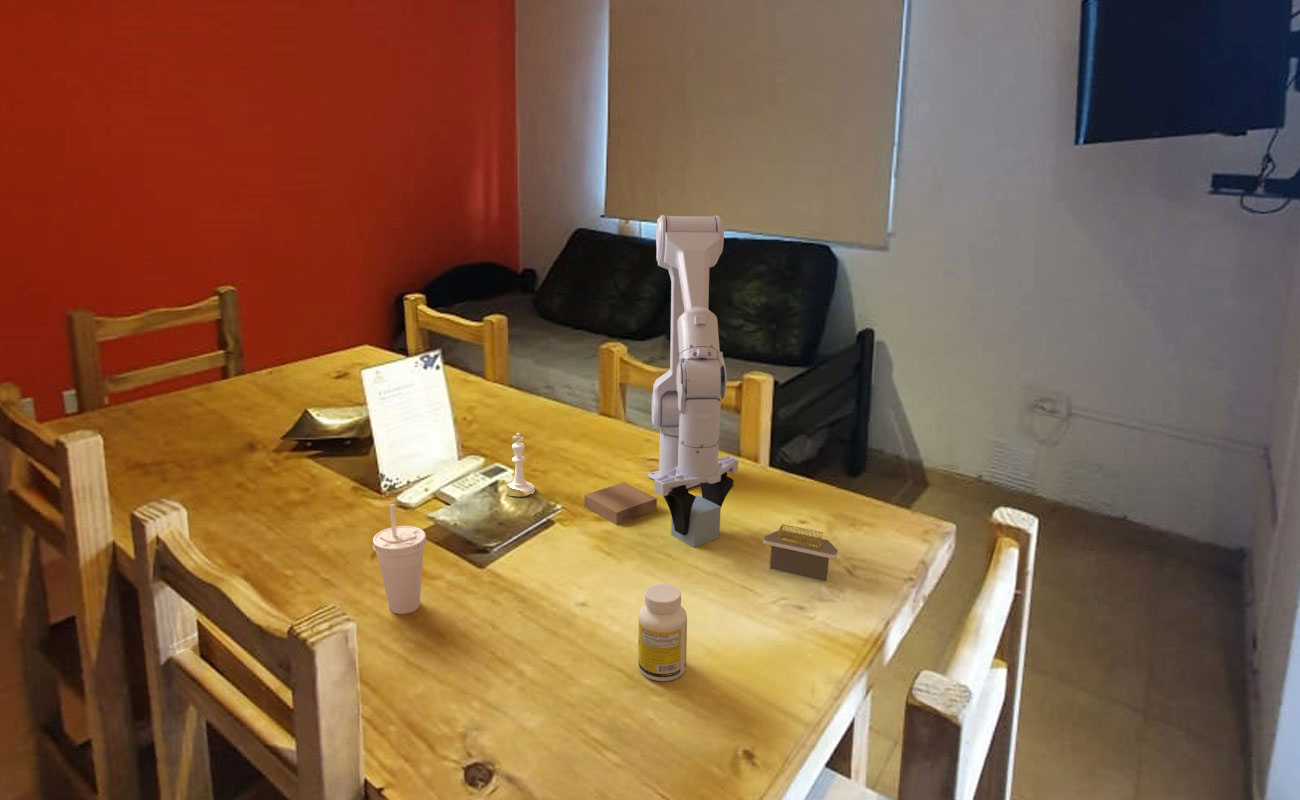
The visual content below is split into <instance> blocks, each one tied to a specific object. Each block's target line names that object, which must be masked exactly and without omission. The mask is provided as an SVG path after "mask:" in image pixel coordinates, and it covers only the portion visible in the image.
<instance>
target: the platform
mask: <svg viewBox="0 0 1300 800" xmlns="http://www.w3.org/2000/svg"><path fill="white" fill-rule="evenodd" d="M823 533H824V532H823V531H822V532H821V531H817V530H814V529H808V528H804V527H798V526H794V525H789V524H785V523H782V524H781V525H780V526H779V528H778V530H776V531H774V532H771V533H769V534H766V535H765V537H763V539H762V540H763V542H762V543H763V544H764V545H767V546H771V547H770V549H771V550H770V560H769V561H770V563H769V569H770V570H774V571H778V572H782V573H787V574H792V575H796V576H801V577H804V578H805V577H806V578H810V579H815V580H819V581H824V582H828V571H829V564H830V563H829V561H830V559H833V560H834V559H836V558H837V557H838V549H837V548H836V547H835V546H834V545H833V543H831V541H829V540H828V539H825V538H824V539H823V538H822V535H823Z"/></svg>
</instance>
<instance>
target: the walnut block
mask: <svg viewBox="0 0 1300 800" xmlns="http://www.w3.org/2000/svg"><path fill="white" fill-rule="evenodd" d="M583 500H584V508H585V509H587V510H589V511H591V512H593V513H595V514H597V516H600V517H602V518H603V519H605V520H607V521H609V522H610V523H611V524H614V525H615V526H618V525H621V524H623V523H627V522H629V521H631V520H634V519H638V518H640V517H643V516H645V515H649V514H651V513H654V512H657V510H658V508H657V505H658V498H657V497H655V496H653V495H651V494H649V493H647V492H645V491H643V490H641V489H639V488H637V487H635V486H633V485H631V484H629V483H626V482H625V481H624V482H620V483H618V484H614V485H612V486H608V487H604V488H602V489H598V490H596V491H592V492H589V493H587V494H584V498H583Z"/></svg>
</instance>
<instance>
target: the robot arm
mask: <svg viewBox="0 0 1300 800" xmlns="http://www.w3.org/2000/svg"><path fill="white" fill-rule="evenodd" d="M655 231H656V233H655V234H656V236H655V237H656V238H655V240H656V241H655V242H656V243H655V244H656V262H657V266H658V267H660V268H663V269H665V270H668V274H669V277H670V281H671V282H670V283H671V284H670V285H671V287H670V288H671V290H670V295H671V296H670V299H671V301H670V350H669V351H670V352H669V353H670V357H669V359H670V361H669V370H667V371H665V373H663V374H662V375H661V376H659V377H657V379H655V381H654V383H653V384H652V394H651V423H652V425H653V426H654V427H655V429H659V451H658V453H659V456H658V457H659V461H658V470H656V471H652V472H649V473H648V474H647V477H648V478H649V479H652V480H654V486H653V488H654V489H653V490H654V493H655V494H658V495H660V496H662V497H663V499H664V501H665V502H666V504H667V506H668V510H669V513H670V515H671V520H672V519H673V523H674V528H675V531H676V532H678V533H680V534H681V535H684V536H685V535H687V534H688V530H689V522H690V513H691V509H692V505H693V503H694V500H695V498H696V495H694V494H692V493H690V492H689V489H690V488H694V487H697V486H700V491H701V497H703V498H705V499H707V500H709V501H711V502H713V503H715V504H717V505H719V506H721V507H722V506H723V503H724V501H725V500H726V497H727V496H728V493H729V492H730V491H731V490H732V489H733V487H734V479H733V478H732V477H730V476H728V473H732V474H735V473H737V472H739V459H737V458H735V457H734V456H733V457H732V456H730V455H728V456H724V457H719V446H720V426H721V423H720V422H721V408H722V407H721V405H722V403H721V402H722V401H721V399H722V400H724V399H725V396H726V391H727V382H728V381H727V380H728V379H727V378H728V376H727V370H726V369H727V368H726V363H725V360H724V356H723V355H724V353H723V351H720V337H719V326H718V323H719V322H718V317H717V315H716V314H715V313H713V312H712V311H711V310H710V309H709V298H710V297H709V296H710V295H709V294H710V293H709V292H710V289H709V288H710V285H709V284H710V268H712V267H715V266H716V264H717V263H718V260H719V258H720V256H721V255H722V253H723V249H724V242H725V240H724V239H725V228H724V221H723V219H722V218H721V217H720V215H714V216H703V215H701V216H694V215H692V216H691V215H689V216H686V215H685V216H684V215H683V216H681V215H680V216H679V215H665V214H662V215H660V216H659V217H658V219H657V220H656V230H655Z"/></svg>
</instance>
